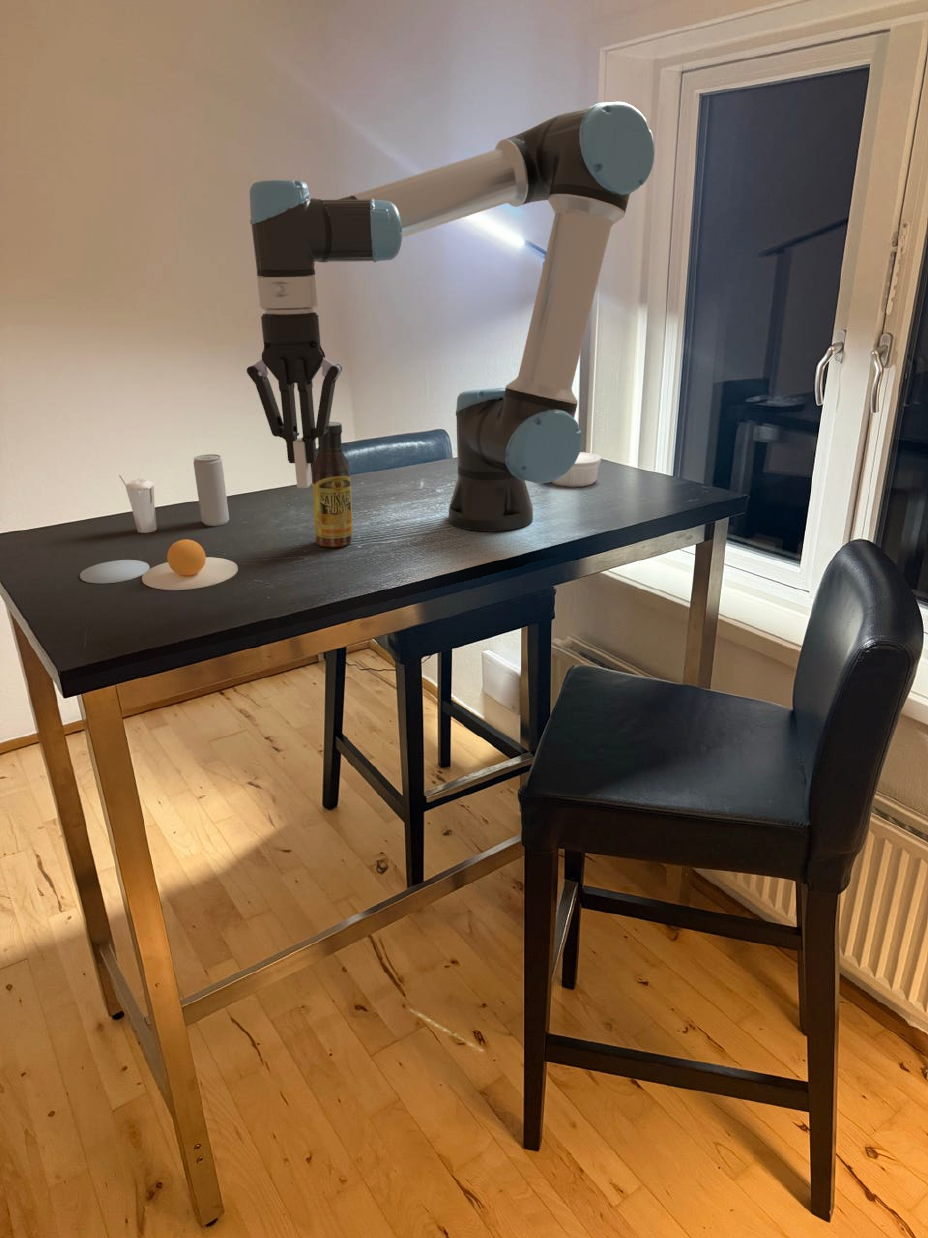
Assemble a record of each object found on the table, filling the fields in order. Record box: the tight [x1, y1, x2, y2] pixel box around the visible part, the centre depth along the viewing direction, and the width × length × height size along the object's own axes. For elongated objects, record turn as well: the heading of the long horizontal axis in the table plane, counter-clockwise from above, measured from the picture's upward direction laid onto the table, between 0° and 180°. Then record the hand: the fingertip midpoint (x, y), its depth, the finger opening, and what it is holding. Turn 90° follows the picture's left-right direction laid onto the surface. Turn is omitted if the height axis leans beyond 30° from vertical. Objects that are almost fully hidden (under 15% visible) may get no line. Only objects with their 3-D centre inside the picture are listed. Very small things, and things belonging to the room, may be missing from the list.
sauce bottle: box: [311, 421, 354, 548], centre depth 139 cm, size 7×6×20 cm
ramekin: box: [551, 451, 602, 488], centre depth 178 cm, size 11×11×5 cm
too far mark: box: [79, 559, 151, 585], centre depth 131 cm, size 10×10×1 cm
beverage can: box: [193, 453, 230, 527], centre depth 152 cm, size 5×5×12 cm
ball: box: [166, 538, 207, 576], centre depth 128 cm, size 6×6×6 cm
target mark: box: [141, 556, 239, 591], centre depth 130 cm, size 14×14×1 cm
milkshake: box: [119, 475, 157, 534], centre depth 149 cm, size 4×5×10 cm
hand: (304, 485), depth 123 cm, fingers closed
